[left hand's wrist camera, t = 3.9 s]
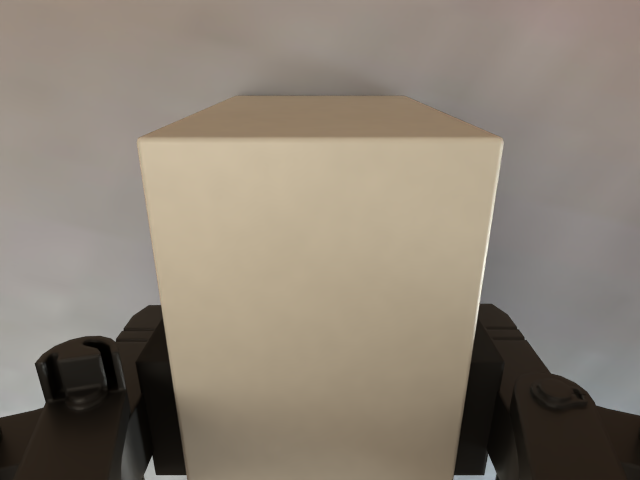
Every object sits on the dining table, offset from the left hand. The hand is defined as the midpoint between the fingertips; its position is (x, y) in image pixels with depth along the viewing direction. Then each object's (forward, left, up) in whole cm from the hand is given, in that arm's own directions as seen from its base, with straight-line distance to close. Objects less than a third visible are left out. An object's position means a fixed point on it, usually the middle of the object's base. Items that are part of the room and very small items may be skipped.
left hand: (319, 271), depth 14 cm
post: (+3, +25, -1) cm, 25 cm away
